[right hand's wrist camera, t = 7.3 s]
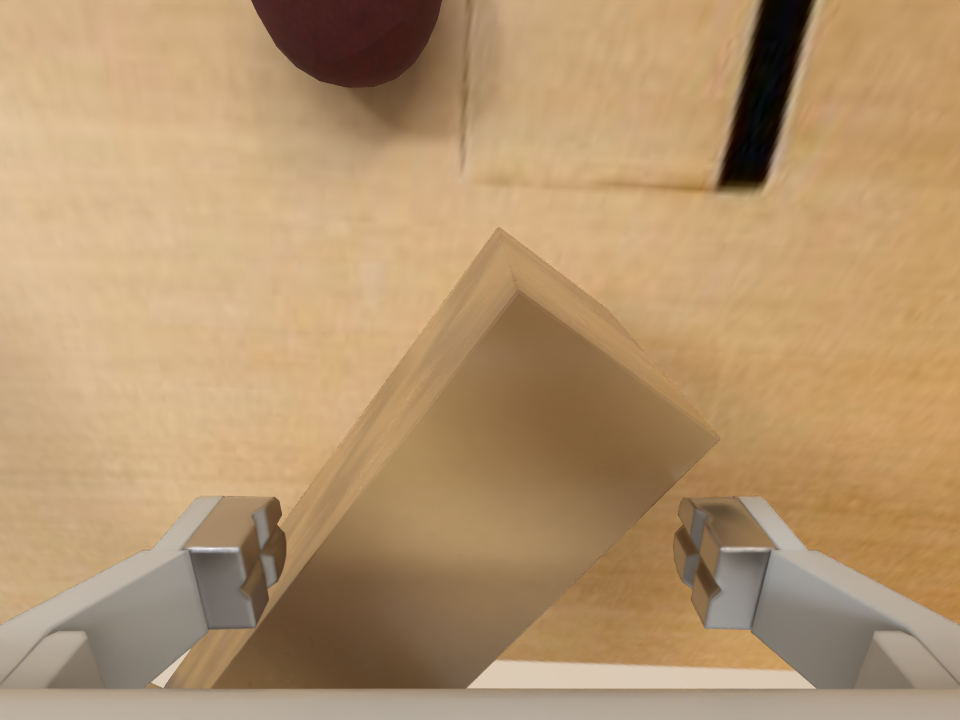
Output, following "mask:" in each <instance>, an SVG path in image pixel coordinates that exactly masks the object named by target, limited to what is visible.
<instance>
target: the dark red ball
mask: <svg viewBox="0 0 960 720" xmlns="http://www.w3.org/2000/svg"><path fill="white" fill-rule="evenodd" d="M251 1H252V3H253V5H254V7H255V9H256V12H257V14H258V15H259V17H260V19H261V21H262V22H263V24H264V26H265V27H266V29H267V31H268V32H269V34H270V36H271V38H272V39H273V41H274V43H275V44H276V46H277V47H278V48H279V49H280V50H281V52H282V53H283V54H284V55H285V56H286V57H287V58H288V59H289V60H290V61H291V62H292V63H293V64H294V65H295V66H296V67H297V68H299V69H301V70H302V71H304V72H306V73H307V74H309V75H311V76H312V77H314V78H316V79H317V80H319V81H322V82H326V83H330V84H334V85H339V86H343V87H349V88H353V87H374V86H377V85H380V84H382V83H385V82H388V81H391V80H394V79H396V78H397V77H398V76H399V75H401V74H402V73H403V72H404V71H405V70H406V69H408V68H409V67H410V66H411V65H412V64H414V62H415V61H416V59H417V58H418V56H419V55H420V53H421V52H422V50H423V49H424V47H425V46H426V44H427V43H428V40H429V38H430V35H431V33H432V31H433V28H434V26H435V24H436V21H437V19H438V15H439V10H440V6H441V1H442V0H251Z"/></svg>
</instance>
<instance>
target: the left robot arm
mask: <svg viewBox="0 0 960 720" xmlns="http://www.w3.org/2000/svg"><path fill="white" fill-rule="evenodd" d="M144 689H164V688H162V687H159V686H157V685H155V684H152V683H149V684H148V685H147V686H146V687H145V688H144Z"/></svg>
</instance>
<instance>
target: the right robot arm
mask: <svg viewBox="0 0 960 720" xmlns="http://www.w3.org/2000/svg"><path fill="white" fill-rule="evenodd" d="M281 516H282V512H281V507H280V502H279V500H278V499H276V498H275V497H247V496H226V497H225V496H201V497H198V498H196V499H195V500H194V501H193V502H192V503H191V504H190V506H189V507H188V508H187V509H186V510H185V511H184V513H183V514H182V515H181V516H180V517H179V518H178V520H177V521H176V522H175V523H174V524H173V525H172V527H171V528H170V529H169V530H168V531H167V532H166V534H165V535H164V536H163V537H162V538H161V540H160V541H159V542H158V543H157V544H156V545H155V547H154V548H153V549H152V550H143V551H141V552H139V553H137V554H135V555H133V556H131V557H129V558H127V559H125V560H123V561H121V562H120V563H118V564H116V565H114V566H112V567H110V568H108V569H106V570H104V571H102V572H100V573H98V574H97V575H95V576H93V577H91V578H89V579H87V580H85V581H83V582H81V583H79V584H77V585H75V586H74V587H72V588H70V589H68V590H66V591H64V592H62V593H60V594H58V595H56V596H54V597H52V598H51V599H49V600H47V601H45V602H43V603H41V604H39V605H37V606H35V607H33V608H31V609H29V610H27V611H26V612H24V613H22V614H20V615H18V616H16V617H14V618H12V619H10V620H8V621H6V622H4V623H3V624H1V625H0V720H960V625H959V624H957V623H955V622H953V621H951V620H949V619H947V618H946V617H944V616H942V615H940V614H938V613H936V612H934V611H932V610H930V609H928V608H926V607H925V606H923V605H921V604H919V603H917V602H915V601H913V600H911V599H909V598H907V597H905V596H903V595H902V594H900V593H898V592H896V591H894V590H892V589H890V588H888V587H886V586H884V585H882V584H881V583H879V582H877V581H875V580H873V579H871V578H869V577H867V576H865V575H863V574H861V573H859V572H858V571H856V570H854V569H852V568H850V567H848V566H846V565H844V564H842V563H840V562H838V561H837V560H835V559H833V558H831V557H829V556H827V555H825V554H823V553H821V552H819V551H817V550H808V549H807V548H806V547H805V545H804V544H803V543H802V542H801V541H800V540H799V538H798V537H797V536H796V535H795V534H794V533H793V531H792V530H791V529H790V528H789V527H788V526H787V524H786V523H785V522H784V521H783V520H782V519H781V517H780V516H779V515H778V514H777V513H776V512H775V510H774V509H773V508H772V507H771V506H770V505H769V503H768V502H767V501H766V500H765V499H764V498H762V497H760V496H733V497H699V498H683V499H682V501H681V503H680V506H679V511H678V516H679V518H680V519H681V521H682V523H683V525H682V526H681V527H680V528H679V529H678V530H677V531H676V532H675V536H674V544H673V551H674V561H675V565H676V568H677V572H678V574H679V576H680V578H681V580H682V582H683V583H685V584H686V585H687V586H689V587H690V588H691V589H693V590H692V596H691V601H692V603H693V605H694V607H695V609H696V611H697V613H698V615H699V618H700V620H701V622H702V624H703V626H704V628H705V629H741V630H751V632H752V633H753V634H754V635H755V636H756V637H758V638H759V639H760V640H761V641H762V642H763V643H764V644H766V645H767V646H768V647H769V648H770V649H771V650H773V651H774V652H775V653H776V654H777V655H778V656H780V657H781V658H782V659H783V660H784V661H785V662H786V663H788V664H789V665H790V666H791V667H792V668H793V669H795V670H796V671H797V672H798V673H799V674H800V675H802V676H803V677H804V678H805V679H806V680H807V681H809V682H810V683H811V684H812V685H813V686H814V687H815V688H817V689H144V688H145V687H146V686H147V685H148V684H149V683H150V682H152V681H153V680H154V679H155V678H156V677H157V676H159V675H160V674H161V673H162V672H163V671H164V670H165V669H167V668H168V667H169V666H170V665H171V664H173V663H174V662H175V661H176V660H177V659H178V658H180V657H181V656H182V655H183V654H184V653H185V652H186V651H188V650H189V649H190V648H191V647H192V646H193V645H195V644H196V643H197V642H198V641H199V640H200V639H202V638H203V637H204V636H205V635H206V634H207V633H209V631H208V630H219V629H253V628H256V626H257V624H258V622H259V620H260V618H261V616H262V614H263V611H264V609H265V607H266V605H267V603H268V601H269V596H268V590H267V589H269V588H270V587H271V586H273V585H274V584H275V583H277V582H278V580H279V578H280V576H281V574H282V572H283V569H284V564H285V560H286V553H287V542H286V536H285V532H284V531H283V530H282V529H281V528H280V527H279V526H278V525H277V523H278V521H279V519H280V518H281Z"/></svg>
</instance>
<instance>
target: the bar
mask: <svg viewBox="0 0 960 720" xmlns="http://www.w3.org/2000/svg"><path fill="white" fill-rule="evenodd" d="M719 440H720V438H719V436H718V435H717V434H716V433H715V432H714V430H713V429H712V428H711V427H710V426H709V425H708V424H707V422H706V421H705V420H704V419H703V418H702V417H701V416H700V414H699V413H698V412H697V411H696V410H695V409H694V408H693V406H692V405H691V404H690V403H689V402H688V401H687V400H686V398H685V397H684V396H683V395H682V394H681V393H680V392H679V390H678V389H677V388H676V387H675V386H674V385H673V384H672V382H671V381H670V380H669V379H668V378H667V377H666V376H665V374H664V373H663V372H662V371H661V370H660V369H659V368H658V366H657V365H656V364H655V363H654V362H653V361H652V360H651V358H650V357H649V356H648V355H647V354H646V353H645V352H644V350H643V349H642V348H641V347H640V346H639V345H638V344H637V342H636V341H635V340H634V339H633V338H632V337H631V336H630V334H629V333H628V332H627V331H626V330H625V329H624V328H623V326H622V325H621V324H620V323H619V322H618V321H617V320H616V318H615V317H614V316H613V315H612V314H611V313H610V312H609V310H608V309H607V308H605V307H604V306H603V305H601V304H600V303H599V302H597V301H596V300H595V299H593V298H592V297H591V296H590V295H588V294H587V293H586V292H584V291H583V290H582V289H580V288H579V287H578V286H576V285H575V284H574V283H572V282H571V281H570V280H568V279H567V278H566V277H564V276H563V275H562V274H561V273H559V272H558V271H557V270H555V269H554V268H553V267H551V266H550V265H549V264H547V263H546V262H545V261H543V260H542V259H541V258H539V257H538V256H537V255H536V254H534V253H533V252H532V251H530V250H529V249H528V248H526V247H525V246H524V245H522V244H521V243H520V242H518V241H517V240H516V239H514V238H513V237H512V236H510V235H509V234H508V233H507V232H505V231H504V230H503V229H501V228H500V227H498V228H497V229H496V231H495V232H494V233H493V235H492V236H491V237H490V239H489V240H488V242H487V243H486V244H485V246H484V247H483V248H482V250H481V251H480V253H479V254H478V255H477V257H476V258H475V259H474V261H473V262H472V264H471V265H470V266H469V268H468V269H467V270H466V272H465V273H464V275H463V276H462V277H461V279H460V280H459V281H458V283H457V284H456V286H455V287H454V288H453V290H452V291H451V292H450V294H449V295H448V297H447V298H446V299H445V301H444V302H443V303H442V305H441V306H440V308H439V309H438V310H437V312H436V313H435V314H434V316H433V317H432V319H431V320H430V321H429V323H428V324H427V325H426V327H425V328H424V330H423V331H422V332H421V334H420V335H419V336H418V338H417V339H416V341H415V342H414V343H413V345H412V346H411V347H410V349H409V350H408V352H407V353H406V354H405V356H404V357H403V358H402V360H401V361H400V363H399V364H398V365H397V367H396V368H395V370H394V371H393V372H392V374H391V375H390V376H389V378H388V379H387V381H386V382H385V383H384V385H383V386H382V387H381V389H380V390H379V392H378V393H377V394H376V396H375V397H374V398H373V400H372V401H371V403H370V404H369V405H368V407H367V408H366V409H365V411H364V412H363V414H362V415H361V416H360V418H359V419H358V420H357V422H356V423H355V425H354V426H353V427H352V429H351V430H350V431H349V433H348V434H347V436H346V437H345V438H344V440H343V441H342V442H341V444H340V445H339V447H338V448H337V449H336V451H335V452H334V453H333V455H332V456H331V458H330V459H329V460H328V462H327V463H326V464H325V466H324V467H323V469H322V470H321V471H320V473H319V474H318V475H317V477H316V478H315V480H314V481H313V482H312V484H311V485H310V486H309V488H308V489H307V491H306V492H305V493H304V495H303V496H302V497H301V499H300V500H299V502H298V503H297V504H296V506H295V507H294V508H293V510H292V511H291V513H290V514H289V515H288V517H287V518H286V519H285V521H284V522H283V524H282V525H281V526H280V528H281V529H282V530H283V531H284V532H285V536H286V542H287V553H286V560H285V564H284V569H283V572H282V574H281V576H280V578H279V580H278V582H277V583H275V584H274V585H273V586H271V587H270V588H269V589H267V590H268V596H269V601H268V603H267V605H266V607H265V609H264V611H263V614H262V616H261V618H260V620H259V622H258V624H257V626H256V628H253V629H219V630H208V631H209V633H207V634H206V635H205V636H204V637H203V638H202V639H200V640H199V641H198V642H197V643H196V644H195V645H194V646H193V647H192V649H191V650H190V652H189V653H188V654H187V656H186V657H185V658H184V660H183V661H182V663H181V664H180V665H179V667H178V668H177V669H176V671H175V672H174V674H173V675H172V676H171V678H170V679H169V680H168V682H167V683H166V685H165V687H164V689H466V688H467V687H468V686H469V685H470V684H471V683H472V682H473V681H474V680H475V679H476V678H477V677H478V676H479V675H480V674H481V673H482V672H483V671H484V670H485V669H486V668H487V667H489V666H490V664H492V663H493V662H494V661H495V660H496V659H497V658H498V657H499V656H500V655H501V654H502V653H503V652H504V651H505V650H506V649H507V648H508V647H509V646H510V645H511V644H512V643H513V642H514V641H515V640H516V639H517V638H518V637H519V636H520V635H521V634H522V633H523V632H524V631H525V630H526V629H527V628H528V627H529V626H530V625H531V624H532V623H533V622H534V621H535V620H536V619H537V618H539V617H540V616H541V615H542V614H543V613H544V612H545V611H546V610H547V609H548V608H549V607H550V606H551V605H552V604H553V603H554V602H555V601H556V600H557V599H558V598H559V597H560V596H561V595H562V594H563V593H564V592H565V591H566V590H567V589H568V588H569V587H570V586H571V585H572V584H573V583H574V582H575V581H576V580H577V579H578V578H579V577H580V576H581V575H582V574H583V573H584V572H585V571H586V570H587V569H588V568H590V567H591V566H592V565H593V564H594V563H595V562H596V561H597V560H598V559H599V558H600V557H601V556H602V555H603V554H604V553H605V552H606V551H607V550H608V549H609V548H610V547H611V546H612V545H613V544H614V543H615V542H616V541H617V540H618V539H619V538H620V537H621V536H622V535H623V534H624V533H625V532H626V531H627V530H628V529H629V528H630V527H631V526H632V525H633V524H634V523H635V522H636V521H637V520H638V519H639V518H641V517H642V516H643V515H644V514H645V513H646V512H647V511H648V510H649V509H650V508H651V507H652V506H653V505H654V504H655V503H656V502H657V501H658V500H659V499H660V498H661V497H662V496H663V495H664V494H665V493H666V492H667V491H668V490H669V489H670V488H671V487H672V486H673V485H674V484H675V483H676V482H677V481H678V480H679V479H680V478H681V477H682V476H683V475H684V474H685V473H686V472H687V471H688V470H689V469H690V468H692V467H693V466H694V465H695V464H696V463H697V462H698V461H699V460H700V459H701V458H702V457H703V456H704V455H705V454H706V453H707V452H708V451H709V450H710V449H711V448H712V447H713V446H714V445H715V444H716V443H717V442H718V441H719Z"/></svg>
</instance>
